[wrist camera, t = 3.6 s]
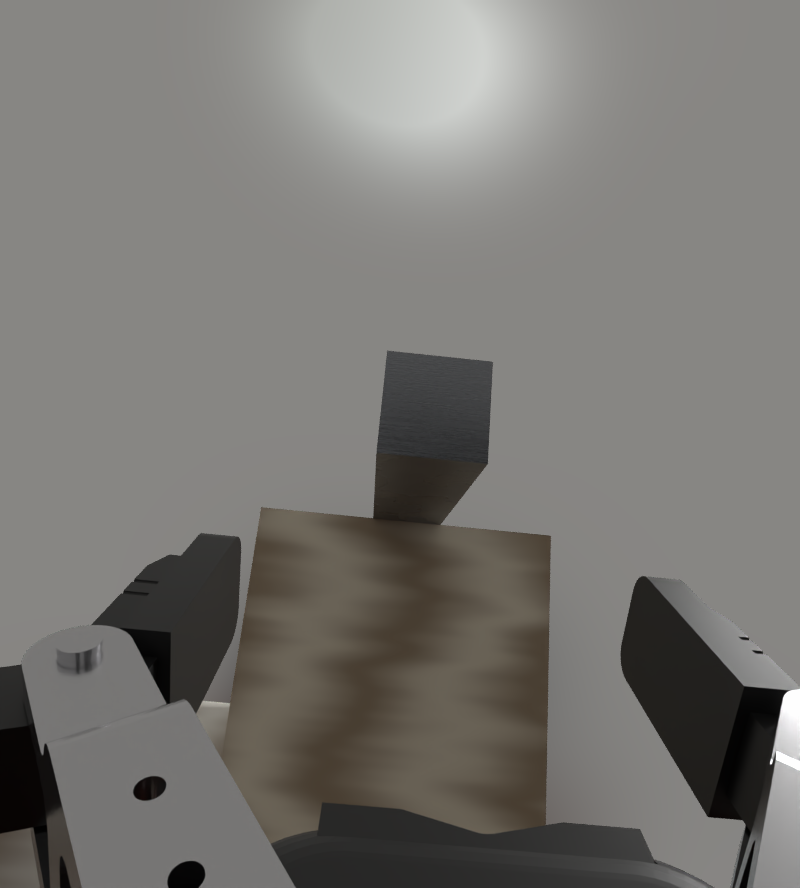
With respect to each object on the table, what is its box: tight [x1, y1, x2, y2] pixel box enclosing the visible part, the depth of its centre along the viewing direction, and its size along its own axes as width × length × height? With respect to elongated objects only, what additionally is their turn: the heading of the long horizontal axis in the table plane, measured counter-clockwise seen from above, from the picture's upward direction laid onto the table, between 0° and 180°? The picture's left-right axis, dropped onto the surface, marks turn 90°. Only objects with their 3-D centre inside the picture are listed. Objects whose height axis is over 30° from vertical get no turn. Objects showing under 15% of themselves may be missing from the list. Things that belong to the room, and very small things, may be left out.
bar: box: [373, 351, 493, 525], centre depth 31 cm, size 3×30×3 cm, turn 3°
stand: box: [0, 507, 551, 888], centre depth 31 cm, size 27×20×32 cm
